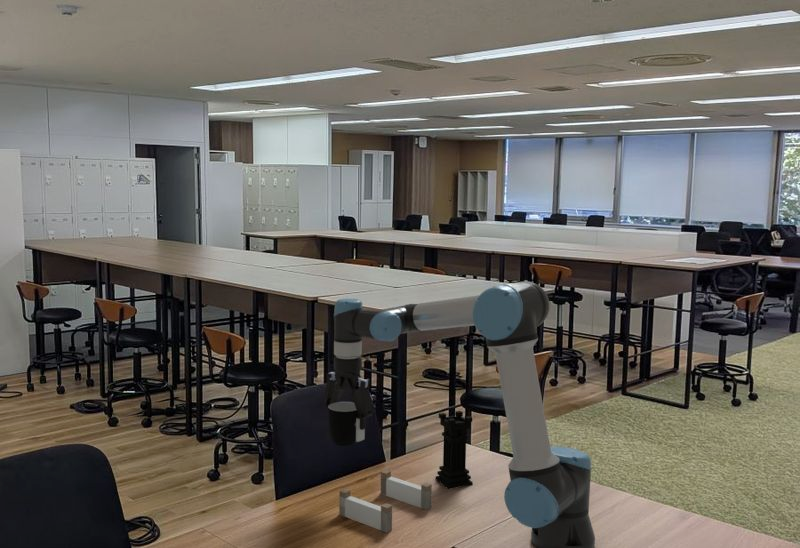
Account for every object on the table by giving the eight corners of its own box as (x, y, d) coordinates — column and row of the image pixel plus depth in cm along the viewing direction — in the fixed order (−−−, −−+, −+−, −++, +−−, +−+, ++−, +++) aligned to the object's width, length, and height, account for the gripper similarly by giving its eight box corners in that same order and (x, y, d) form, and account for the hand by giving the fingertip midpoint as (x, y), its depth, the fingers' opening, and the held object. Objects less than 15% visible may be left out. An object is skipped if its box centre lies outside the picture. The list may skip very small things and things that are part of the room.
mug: (357, 449, 191) (358, 412, 190) (324, 447, 192) (325, 410, 191) (364, 434, 203) (364, 399, 202) (333, 432, 204) (333, 397, 203)
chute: (431, 507, 193) (431, 484, 192) (386, 532, 178) (387, 508, 177) (385, 491, 202) (385, 469, 202) (339, 514, 187) (339, 491, 187)
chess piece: (435, 478, 212) (436, 413, 210) (458, 474, 215) (460, 410, 213) (448, 489, 205) (450, 421, 203) (472, 484, 208) (474, 417, 206)
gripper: (387, 359, 191) (386, 441, 193) (328, 348, 204) (328, 425, 206) (369, 364, 185) (368, 449, 187) (309, 352, 198) (309, 431, 200)
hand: (347, 436), depth 197 cm, fingers closed on mug, 9 cm apart
